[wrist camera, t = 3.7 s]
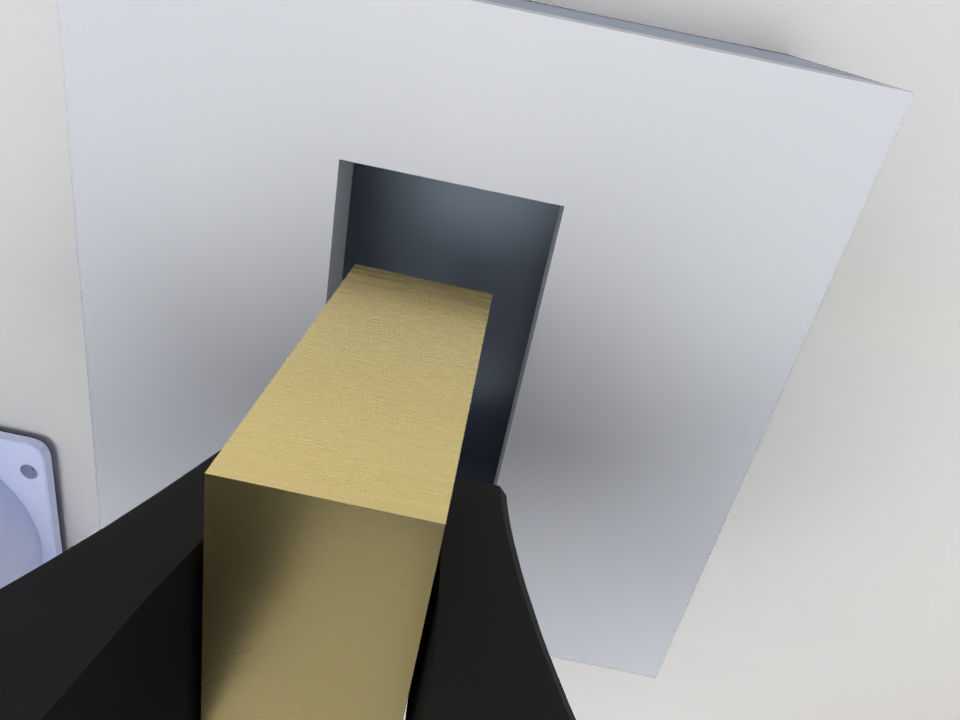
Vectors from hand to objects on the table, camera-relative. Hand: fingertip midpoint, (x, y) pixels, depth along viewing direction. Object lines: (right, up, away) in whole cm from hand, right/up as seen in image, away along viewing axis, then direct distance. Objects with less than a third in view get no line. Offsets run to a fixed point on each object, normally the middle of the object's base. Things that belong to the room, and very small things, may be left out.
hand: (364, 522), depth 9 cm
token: (0, +1, +2) cm, 3 cm away
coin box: (+1, +4, +9) cm, 10 cm away
